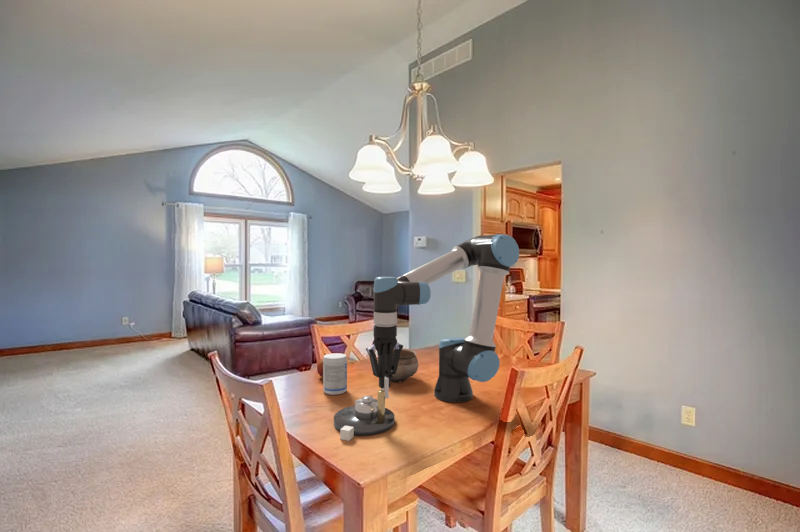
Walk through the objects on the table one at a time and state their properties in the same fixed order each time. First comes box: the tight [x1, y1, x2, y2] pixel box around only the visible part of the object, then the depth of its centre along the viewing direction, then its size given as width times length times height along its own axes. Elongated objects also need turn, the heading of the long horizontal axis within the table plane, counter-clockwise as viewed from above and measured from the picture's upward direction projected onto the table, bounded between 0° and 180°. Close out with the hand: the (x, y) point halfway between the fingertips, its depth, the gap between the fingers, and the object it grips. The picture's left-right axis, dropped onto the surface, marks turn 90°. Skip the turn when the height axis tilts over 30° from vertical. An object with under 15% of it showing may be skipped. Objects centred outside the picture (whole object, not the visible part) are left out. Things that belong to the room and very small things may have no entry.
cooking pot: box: [377, 347, 419, 383], centre depth 178 cm, size 25×19×12 cm
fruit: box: [316, 358, 323, 378], centre depth 180 cm, size 11×10×10 cm
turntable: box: [333, 389, 395, 437], centre depth 132 cm, size 20×20×12 cm
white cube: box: [339, 426, 355, 442], centre depth 121 cm, size 3×3×3 cm
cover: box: [354, 395, 378, 420], centre depth 133 cm, size 8×8×6 cm
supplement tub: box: [322, 352, 348, 396], centre depth 162 cm, size 10×10×15 cm
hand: (384, 397), depth 129 cm, fingers closed
